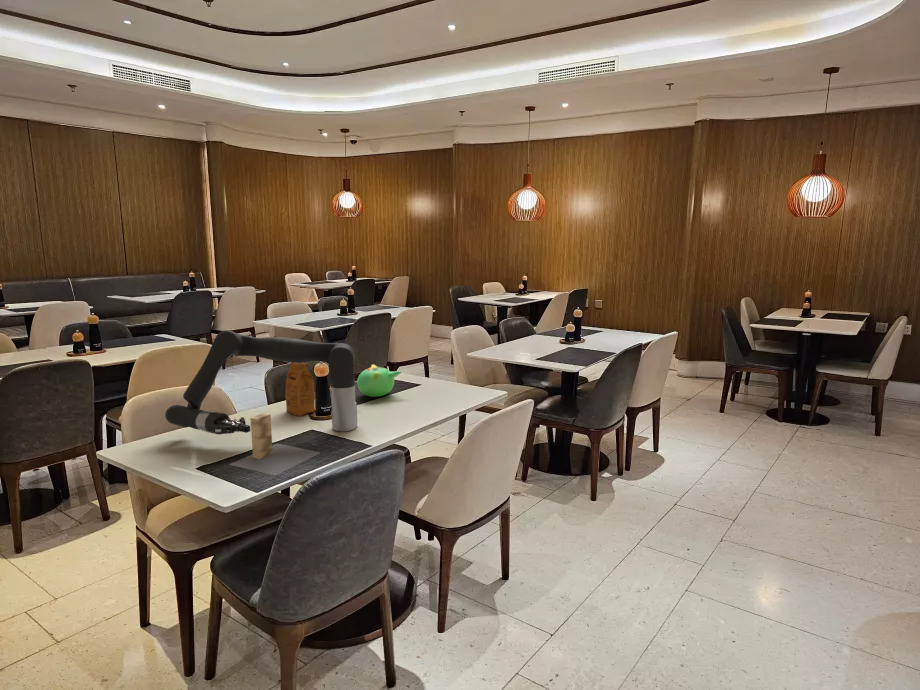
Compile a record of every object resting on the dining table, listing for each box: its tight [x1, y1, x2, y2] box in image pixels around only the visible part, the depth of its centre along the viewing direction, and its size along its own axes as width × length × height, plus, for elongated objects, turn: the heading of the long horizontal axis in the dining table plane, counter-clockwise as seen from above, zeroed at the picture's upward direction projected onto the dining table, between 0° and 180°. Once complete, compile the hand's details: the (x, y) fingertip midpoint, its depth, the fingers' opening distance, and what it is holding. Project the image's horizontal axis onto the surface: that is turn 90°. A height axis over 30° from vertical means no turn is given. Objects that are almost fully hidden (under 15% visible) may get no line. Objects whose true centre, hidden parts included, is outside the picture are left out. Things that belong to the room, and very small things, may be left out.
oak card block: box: [249, 412, 273, 459], centre depth 194 cm, size 6×3×14 cm, turn 154°
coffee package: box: [285, 362, 316, 417], centre depth 245 cm, size 10×12×22 cm
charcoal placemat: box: [228, 443, 322, 476], centre depth 193 cm, size 22×20×1 cm
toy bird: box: [356, 364, 402, 398], centre depth 271 cm, size 18×17×15 cm
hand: (248, 429), depth 197 cm, fingers closed
